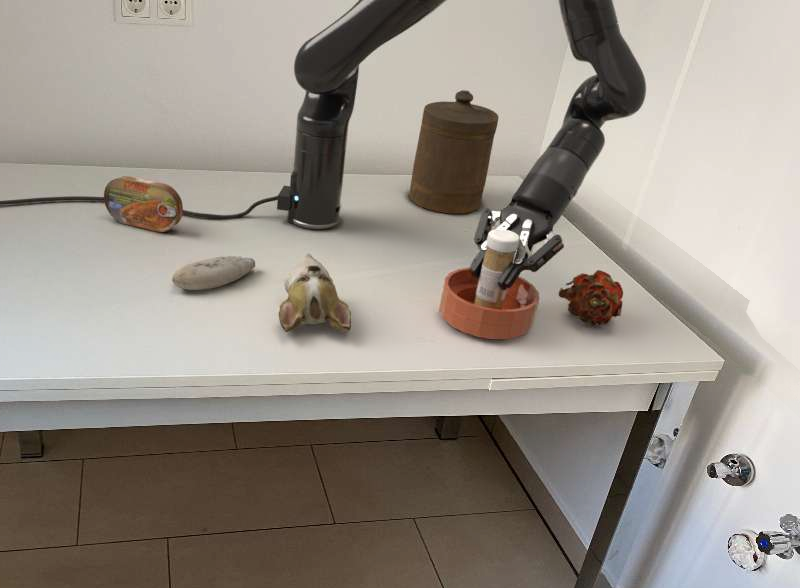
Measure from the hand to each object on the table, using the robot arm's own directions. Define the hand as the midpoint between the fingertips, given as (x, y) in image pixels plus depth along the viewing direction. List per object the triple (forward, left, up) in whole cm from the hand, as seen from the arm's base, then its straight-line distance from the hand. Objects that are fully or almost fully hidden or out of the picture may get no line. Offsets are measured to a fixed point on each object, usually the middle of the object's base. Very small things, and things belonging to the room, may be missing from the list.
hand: (487, 280), depth 117 cm
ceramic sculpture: (-25, -7, -7) cm, 27 cm away
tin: (-60, +17, -7) cm, 63 cm away
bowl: (+1, +1, -7) cm, 7 cm away
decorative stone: (-42, 0, -7) cm, 43 cm away
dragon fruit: (+17, +7, -7) cm, 20 cm away
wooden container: (-7, +50, -7) cm, 52 cm away
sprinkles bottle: (+1, +2, -7) cm, 7 cm away
